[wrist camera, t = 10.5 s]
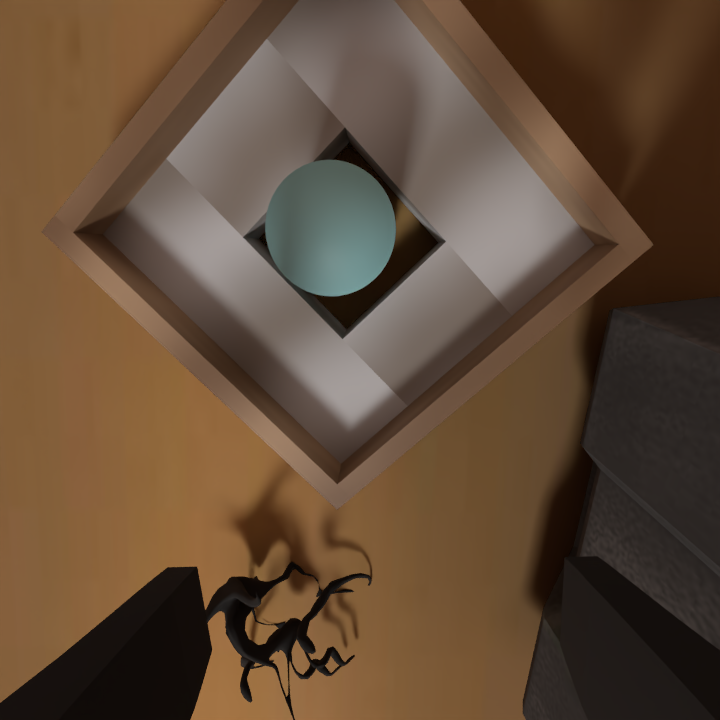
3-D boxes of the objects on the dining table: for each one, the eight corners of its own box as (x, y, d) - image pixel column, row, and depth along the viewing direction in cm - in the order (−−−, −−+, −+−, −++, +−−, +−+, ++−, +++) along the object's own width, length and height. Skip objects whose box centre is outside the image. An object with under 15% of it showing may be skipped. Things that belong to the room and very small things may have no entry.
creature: (402, 581, 22) (279, 498, 19) (430, 702, 17) (270, 614, 14) (293, 666, 23) (165, 601, 20) (290, 799, 18) (121, 738, 15)
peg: (294, 205, 16) (248, 180, 10) (378, 181, 16) (378, 142, 10) (318, 289, 17) (287, 309, 11) (398, 268, 17) (409, 278, 11)
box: (109, 235, 17) (41, 231, 13) (352, -53, 14) (343, -147, 11) (344, 462, 19) (336, 509, 15) (595, 245, 16) (653, 244, 13)
